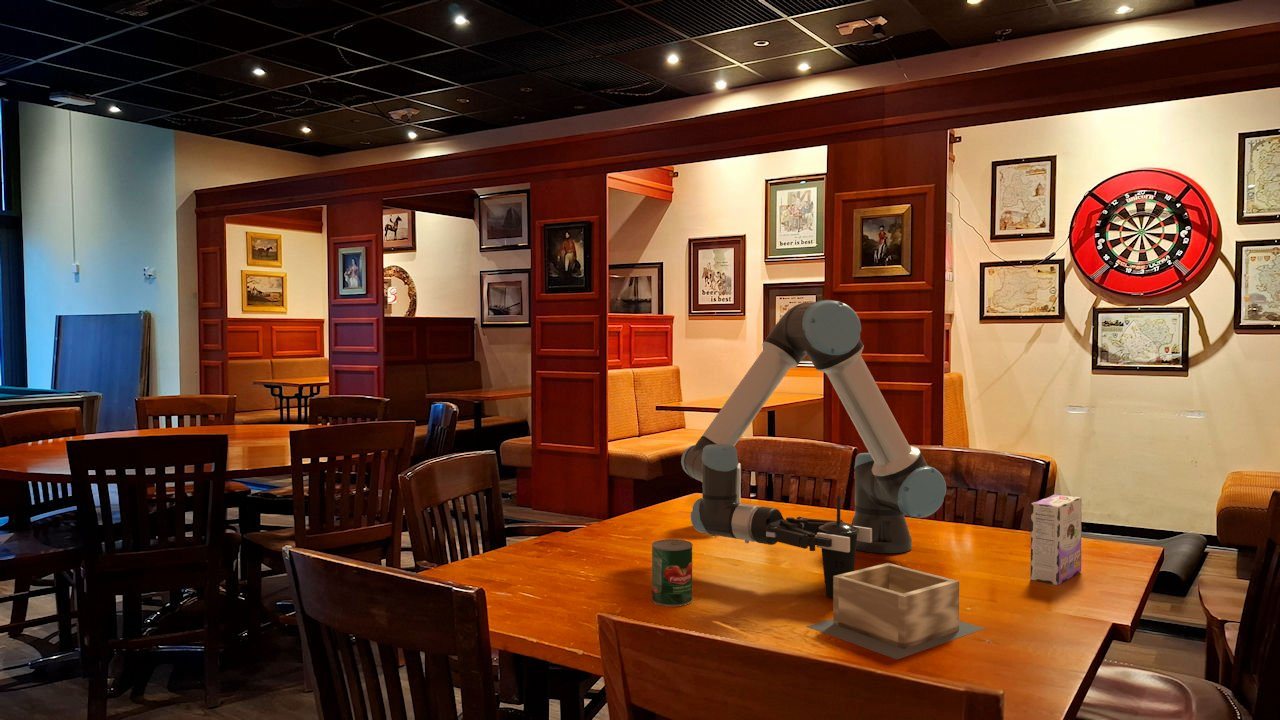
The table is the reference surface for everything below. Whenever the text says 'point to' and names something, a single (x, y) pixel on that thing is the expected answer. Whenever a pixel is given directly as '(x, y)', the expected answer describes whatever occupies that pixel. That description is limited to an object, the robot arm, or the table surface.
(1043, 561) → the candy box
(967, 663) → the table surface
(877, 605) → the holder
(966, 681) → the table surface
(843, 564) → the drinking cup
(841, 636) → the mat
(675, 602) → the canned tomato
